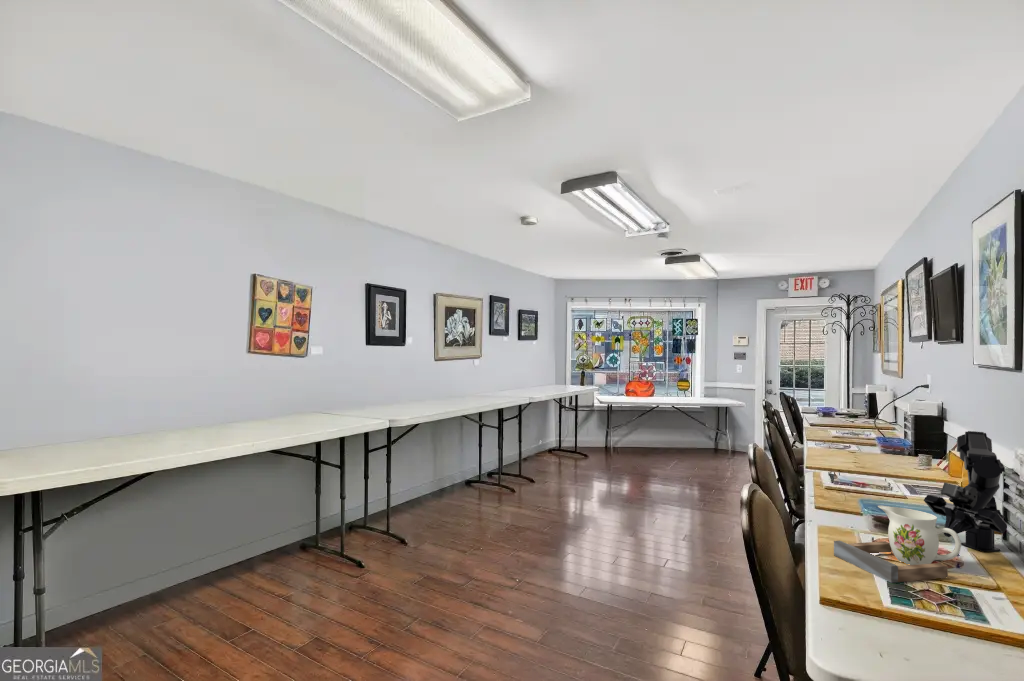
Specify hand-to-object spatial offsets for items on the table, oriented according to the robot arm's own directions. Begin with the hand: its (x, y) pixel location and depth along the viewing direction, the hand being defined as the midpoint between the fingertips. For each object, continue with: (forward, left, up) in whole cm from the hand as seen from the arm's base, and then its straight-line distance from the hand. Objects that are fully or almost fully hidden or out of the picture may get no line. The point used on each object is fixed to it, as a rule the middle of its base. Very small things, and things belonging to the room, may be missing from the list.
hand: (945, 535), depth 146 cm
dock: (+19, 0, -7) cm, 20 cm away
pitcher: (+9, 0, -7) cm, 12 cm away
